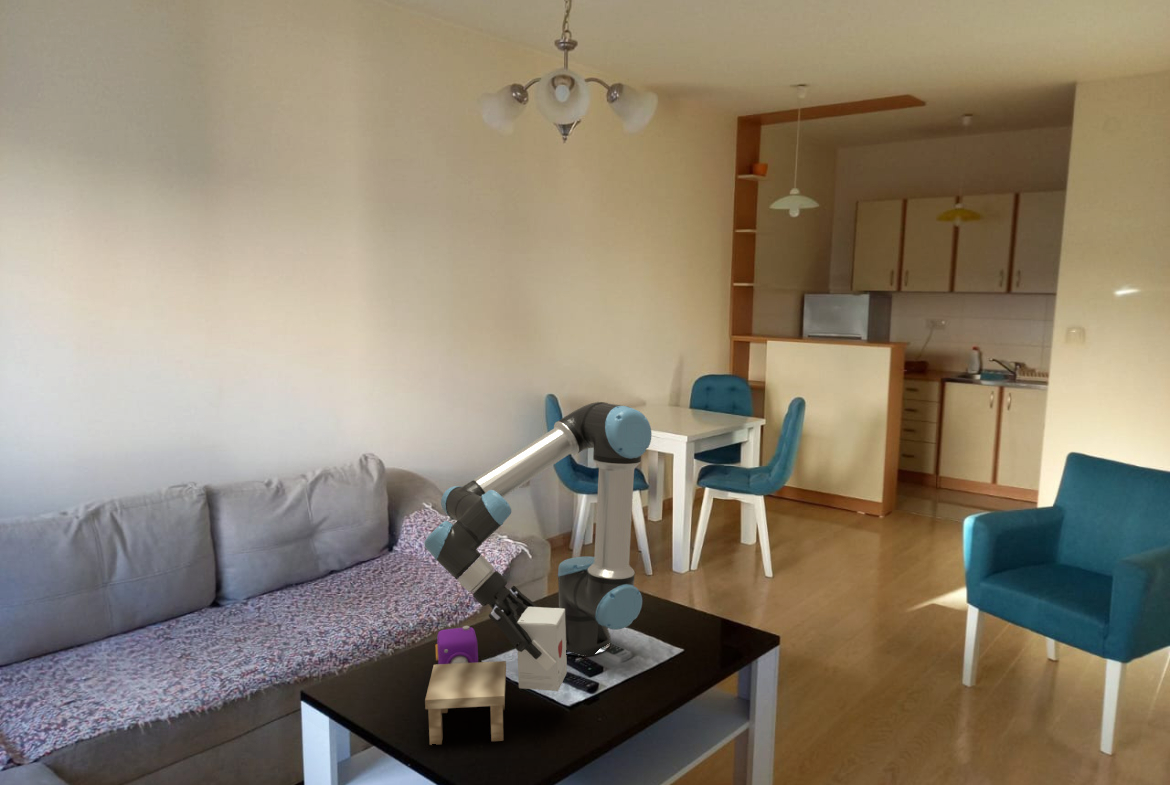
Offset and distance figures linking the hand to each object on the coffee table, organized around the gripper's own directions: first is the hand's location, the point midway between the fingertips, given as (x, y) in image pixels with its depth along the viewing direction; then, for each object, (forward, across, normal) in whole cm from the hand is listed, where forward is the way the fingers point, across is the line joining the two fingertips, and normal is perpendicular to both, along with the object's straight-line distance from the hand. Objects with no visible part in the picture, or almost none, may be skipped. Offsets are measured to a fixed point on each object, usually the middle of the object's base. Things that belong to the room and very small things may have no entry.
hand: (556, 655), depth 174 cm
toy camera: (-10, -16, -30) cm, 36 cm away
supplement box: (+2, 0, -7) cm, 7 cm away
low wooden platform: (-3, +6, -23) cm, 24 cm away
